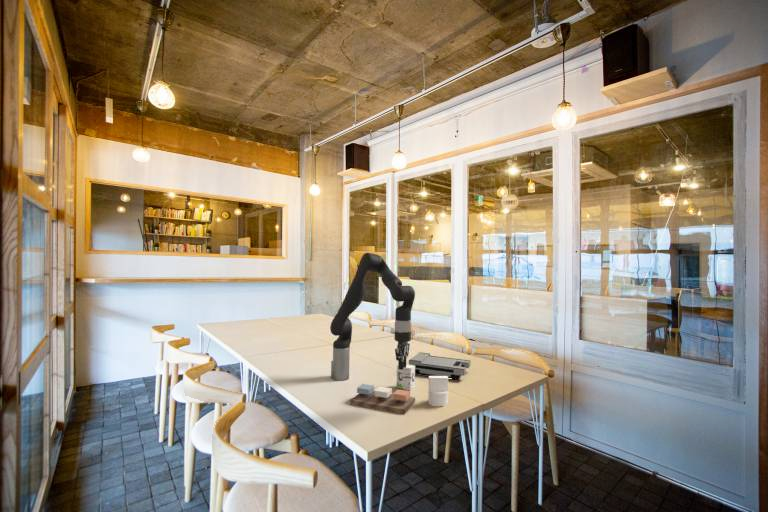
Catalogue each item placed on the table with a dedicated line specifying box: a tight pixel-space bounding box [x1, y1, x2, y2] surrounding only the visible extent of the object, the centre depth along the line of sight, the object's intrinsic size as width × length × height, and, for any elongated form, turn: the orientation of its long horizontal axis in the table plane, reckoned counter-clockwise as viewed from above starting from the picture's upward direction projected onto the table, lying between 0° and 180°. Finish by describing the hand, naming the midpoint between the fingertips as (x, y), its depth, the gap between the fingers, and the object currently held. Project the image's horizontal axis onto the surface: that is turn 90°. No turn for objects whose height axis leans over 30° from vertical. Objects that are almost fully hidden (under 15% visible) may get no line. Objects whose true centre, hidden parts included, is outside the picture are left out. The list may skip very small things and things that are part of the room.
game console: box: [408, 351, 471, 380], centre depth 213 cm, size 21×32×8 cm, turn 67°
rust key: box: [392, 389, 411, 401], centre depth 162 cm, size 6×6×2 cm
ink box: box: [396, 363, 416, 392], centre depth 185 cm, size 9×5×12 cm, turn 58°
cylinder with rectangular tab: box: [427, 376, 449, 407], centre depth 167 cm, size 9×9×12 cm
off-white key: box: [374, 386, 393, 398], centre depth 165 cm, size 6×6×2 cm
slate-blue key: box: [356, 383, 375, 395], centre depth 169 cm, size 6×6×2 cm
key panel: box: [350, 390, 416, 415], centre depth 165 cm, size 26×15×4 cm, turn 68°
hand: (402, 368), depth 162 cm, fingers open, 3 cm apart
